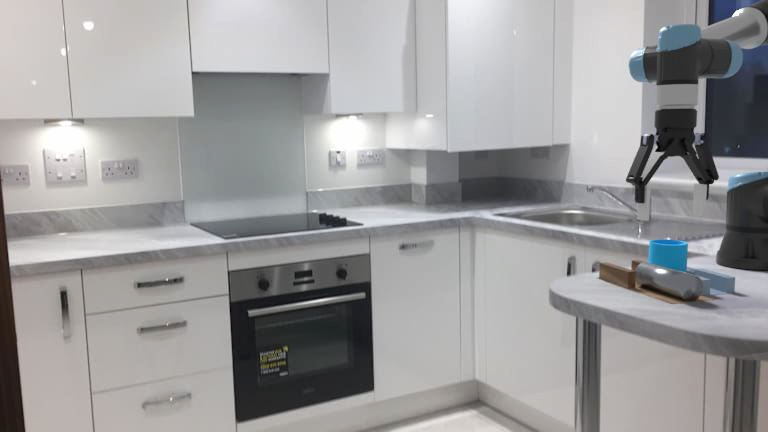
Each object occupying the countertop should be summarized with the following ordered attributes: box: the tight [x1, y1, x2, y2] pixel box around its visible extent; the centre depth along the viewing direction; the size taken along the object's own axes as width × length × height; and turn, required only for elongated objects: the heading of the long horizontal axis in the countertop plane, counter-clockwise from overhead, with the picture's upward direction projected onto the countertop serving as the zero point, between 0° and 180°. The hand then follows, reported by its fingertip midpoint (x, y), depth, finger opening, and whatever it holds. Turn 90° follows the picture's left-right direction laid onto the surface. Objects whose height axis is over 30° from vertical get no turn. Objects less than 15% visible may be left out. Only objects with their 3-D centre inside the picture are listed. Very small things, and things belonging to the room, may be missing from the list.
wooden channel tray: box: [597, 259, 716, 305], centre depth 144 cm, size 10×24×5 cm, turn 17°
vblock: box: [681, 268, 736, 297], centre depth 143 cm, size 8×10×4 cm
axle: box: [635, 261, 703, 301], centre depth 139 cm, size 14×5×5 cm, turn 17°
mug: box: [647, 238, 689, 273], centre depth 162 cm, size 12×8×8 cm
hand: (671, 218), depth 137 cm, fingers open, 12 cm apart
